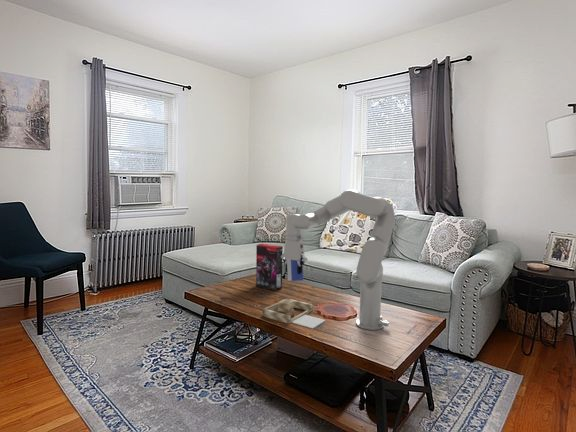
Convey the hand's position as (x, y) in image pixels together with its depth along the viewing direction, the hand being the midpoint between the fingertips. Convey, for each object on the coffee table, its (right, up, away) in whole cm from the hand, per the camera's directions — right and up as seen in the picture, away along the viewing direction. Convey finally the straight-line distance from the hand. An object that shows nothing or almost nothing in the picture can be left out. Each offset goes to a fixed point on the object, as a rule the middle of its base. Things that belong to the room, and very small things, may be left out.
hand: (293, 272), depth 179 cm
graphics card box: (-15, -17, +43) cm, 49 cm away
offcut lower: (-4, -21, -7) cm, 23 cm away
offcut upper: (-4, -17, -7) cm, 19 cm away
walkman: (+1, -4, 0) cm, 4 cm away
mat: (+7, -22, -12) cm, 26 cm away
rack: (-3, -21, -2) cm, 21 cm away
